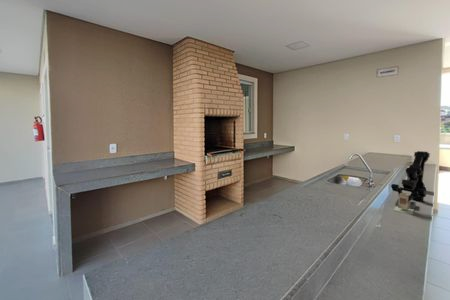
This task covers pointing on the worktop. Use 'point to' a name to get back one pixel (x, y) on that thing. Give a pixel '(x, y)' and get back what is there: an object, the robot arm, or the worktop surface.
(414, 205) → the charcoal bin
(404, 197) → the birch box
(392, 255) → the worktop surface
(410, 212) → the sage mat
